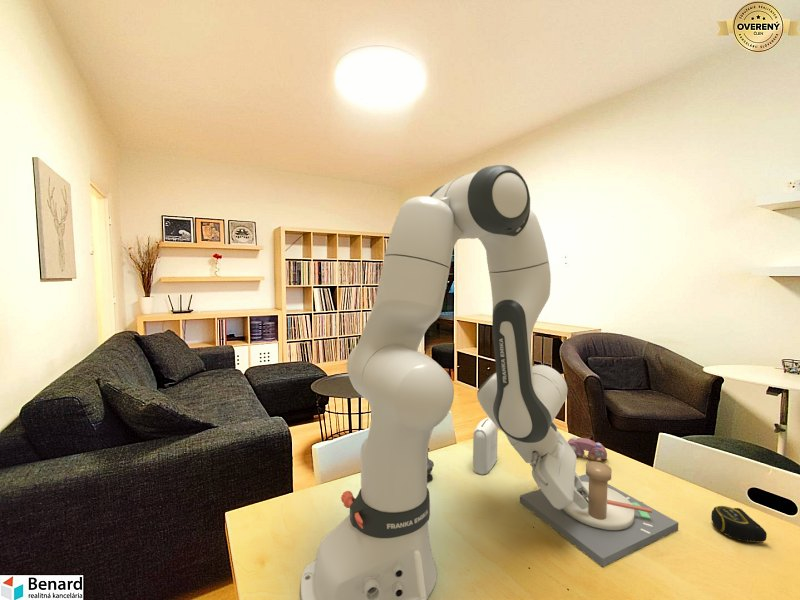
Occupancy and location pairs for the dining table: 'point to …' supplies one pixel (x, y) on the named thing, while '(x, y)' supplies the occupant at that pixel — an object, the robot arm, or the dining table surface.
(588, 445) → the pink toy car
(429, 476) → the dark grey chess piece
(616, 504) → the tuning dial
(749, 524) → the tape measure
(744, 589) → the dining table surface
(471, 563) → the dining table surface
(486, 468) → the photo printer
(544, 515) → the dial board
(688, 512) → the dining table surface
